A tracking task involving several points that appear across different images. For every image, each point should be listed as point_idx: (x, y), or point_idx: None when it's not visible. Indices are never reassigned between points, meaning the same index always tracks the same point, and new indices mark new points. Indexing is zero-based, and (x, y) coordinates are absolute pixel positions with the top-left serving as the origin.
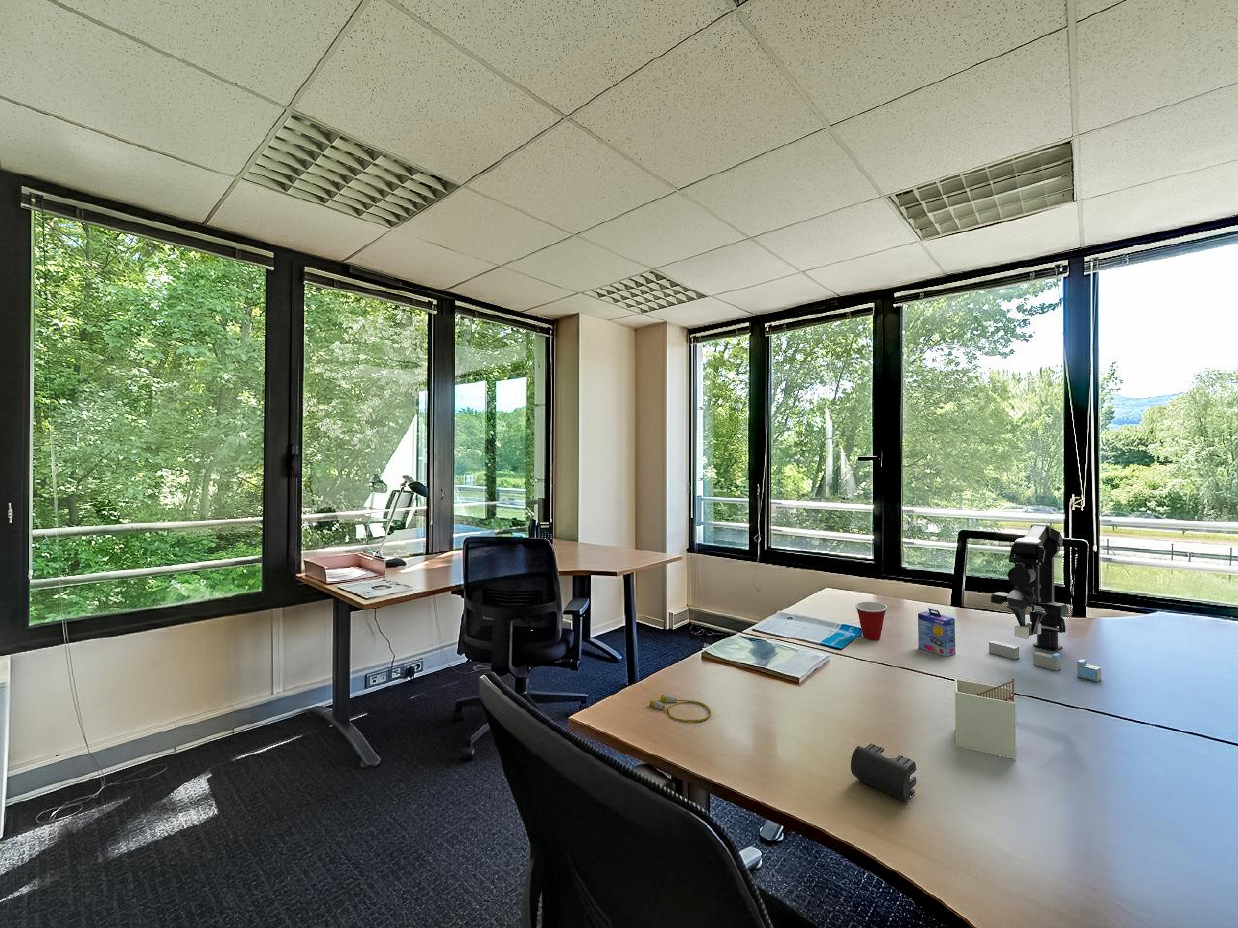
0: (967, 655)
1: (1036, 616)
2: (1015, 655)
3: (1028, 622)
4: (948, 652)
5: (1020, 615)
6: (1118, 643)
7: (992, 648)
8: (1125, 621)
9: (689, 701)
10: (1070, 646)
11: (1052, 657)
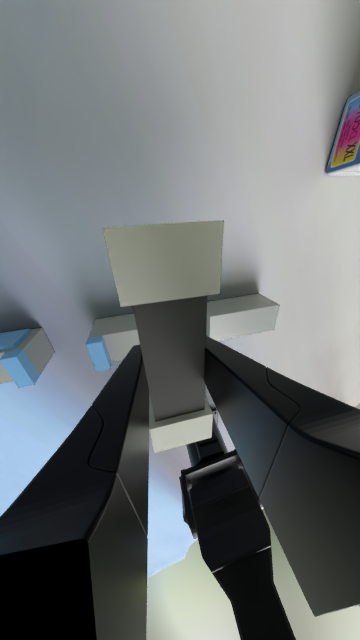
0: (293, 200)
1: (5, 534)
2: None
3: (208, 421)
4: (357, 105)
5: (267, 417)
6: (153, 501)
7: (259, 299)
8: (192, 535)
9: None
10: (179, 451)
11: (100, 337)
